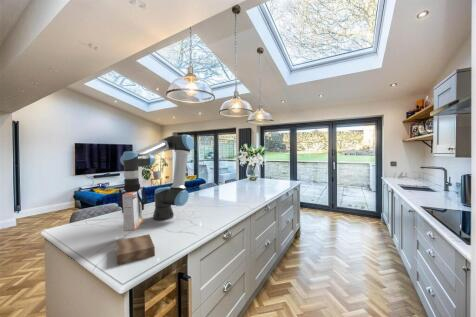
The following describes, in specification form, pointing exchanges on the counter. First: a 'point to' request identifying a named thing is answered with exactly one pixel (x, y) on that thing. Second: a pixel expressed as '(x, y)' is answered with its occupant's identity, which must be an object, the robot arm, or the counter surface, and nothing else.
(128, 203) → the cracker box
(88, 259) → the counter surface
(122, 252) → the walnut plinth block
